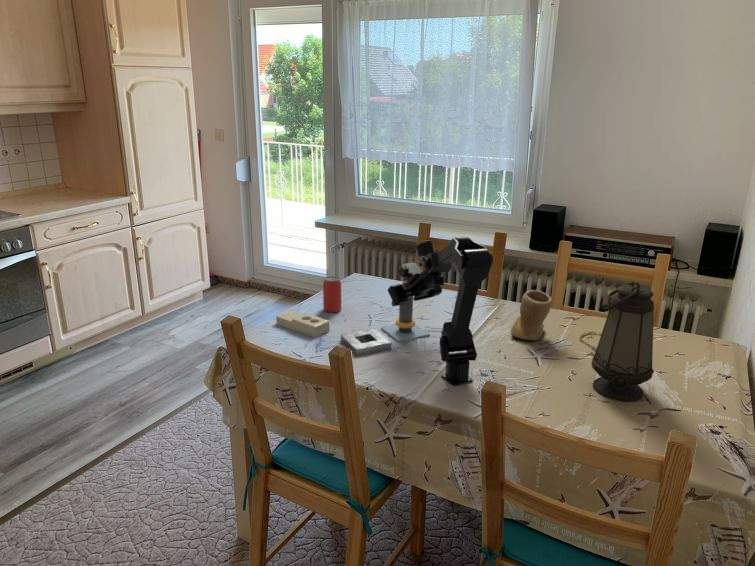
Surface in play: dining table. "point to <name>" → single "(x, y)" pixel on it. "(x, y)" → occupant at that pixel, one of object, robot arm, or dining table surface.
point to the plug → (406, 314)
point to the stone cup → (531, 315)
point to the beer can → (332, 294)
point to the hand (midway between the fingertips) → (403, 302)
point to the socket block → (360, 348)
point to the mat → (399, 337)
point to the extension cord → (589, 344)
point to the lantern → (625, 344)
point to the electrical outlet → (303, 323)
